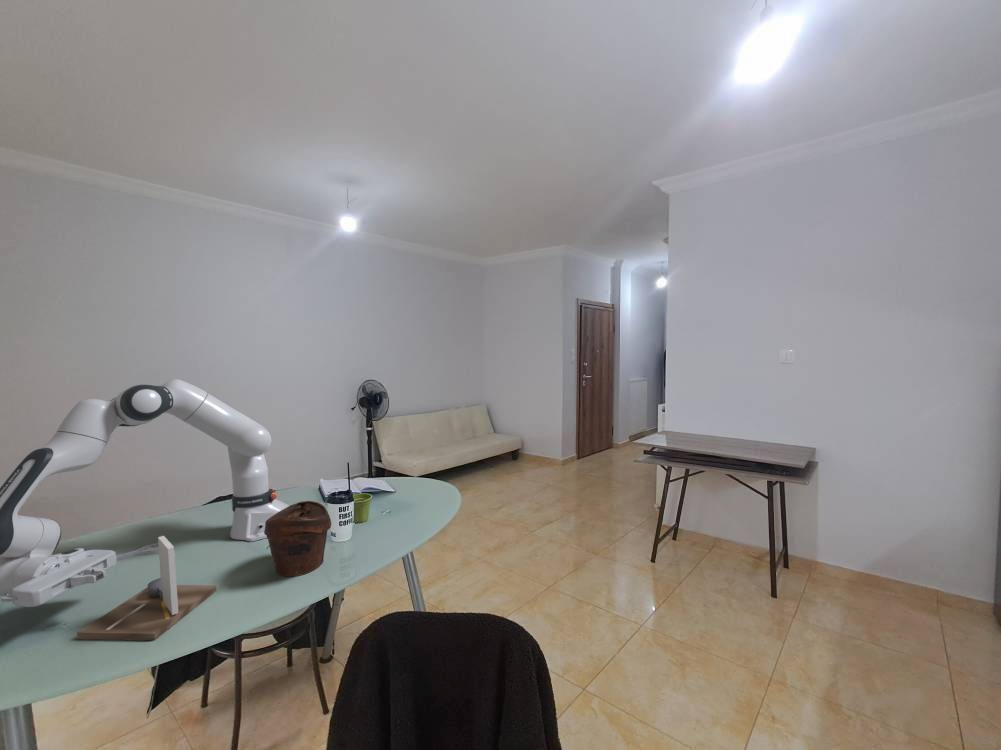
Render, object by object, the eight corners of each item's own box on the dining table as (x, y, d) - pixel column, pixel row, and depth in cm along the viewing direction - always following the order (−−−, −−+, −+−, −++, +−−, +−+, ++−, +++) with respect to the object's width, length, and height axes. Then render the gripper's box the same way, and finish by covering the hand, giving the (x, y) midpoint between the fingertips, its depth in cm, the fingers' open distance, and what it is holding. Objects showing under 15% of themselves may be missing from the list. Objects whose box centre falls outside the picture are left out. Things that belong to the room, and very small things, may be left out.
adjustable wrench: (57, 578, 128) (57, 572, 128) (60, 570, 133) (60, 564, 133) (166, 552, 144) (166, 546, 143) (165, 545, 149) (165, 540, 148)
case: (316, 544, 146) (313, 491, 145) (344, 565, 132) (341, 506, 130) (257, 564, 134) (252, 506, 132) (280, 590, 119) (276, 525, 118)
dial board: (151, 590, 120) (151, 584, 120) (216, 590, 119) (216, 585, 119) (77, 638, 100) (77, 632, 100) (155, 640, 99) (154, 633, 99)
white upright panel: (146, 592, 115) (142, 531, 114) (169, 584, 119) (165, 525, 118) (162, 618, 104) (157, 551, 103) (187, 609, 107) (183, 544, 106)
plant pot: (358, 527, 160) (357, 503, 160) (341, 522, 165) (340, 499, 165) (378, 518, 168) (377, 495, 167) (361, 513, 173) (360, 491, 172)
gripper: (-7, 586, 97) (53, 587, 97) (84, 545, 118) (135, 545, 117) (-5, 614, 98) (56, 615, 97) (86, 568, 118) (136, 568, 117)
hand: (99, 576), depth 107 cm, fingers closed
